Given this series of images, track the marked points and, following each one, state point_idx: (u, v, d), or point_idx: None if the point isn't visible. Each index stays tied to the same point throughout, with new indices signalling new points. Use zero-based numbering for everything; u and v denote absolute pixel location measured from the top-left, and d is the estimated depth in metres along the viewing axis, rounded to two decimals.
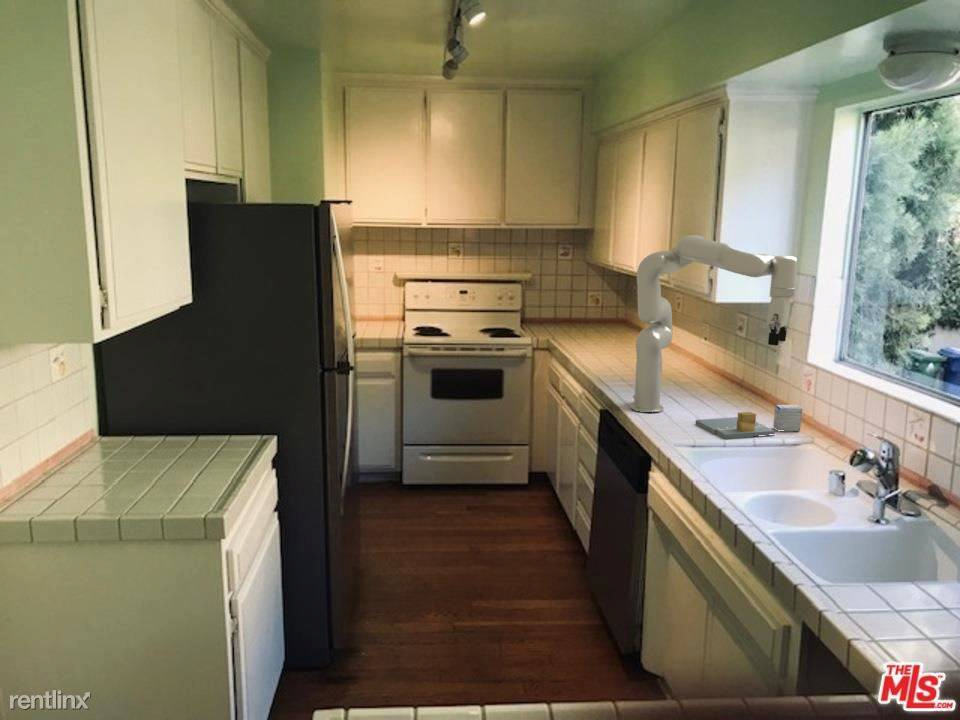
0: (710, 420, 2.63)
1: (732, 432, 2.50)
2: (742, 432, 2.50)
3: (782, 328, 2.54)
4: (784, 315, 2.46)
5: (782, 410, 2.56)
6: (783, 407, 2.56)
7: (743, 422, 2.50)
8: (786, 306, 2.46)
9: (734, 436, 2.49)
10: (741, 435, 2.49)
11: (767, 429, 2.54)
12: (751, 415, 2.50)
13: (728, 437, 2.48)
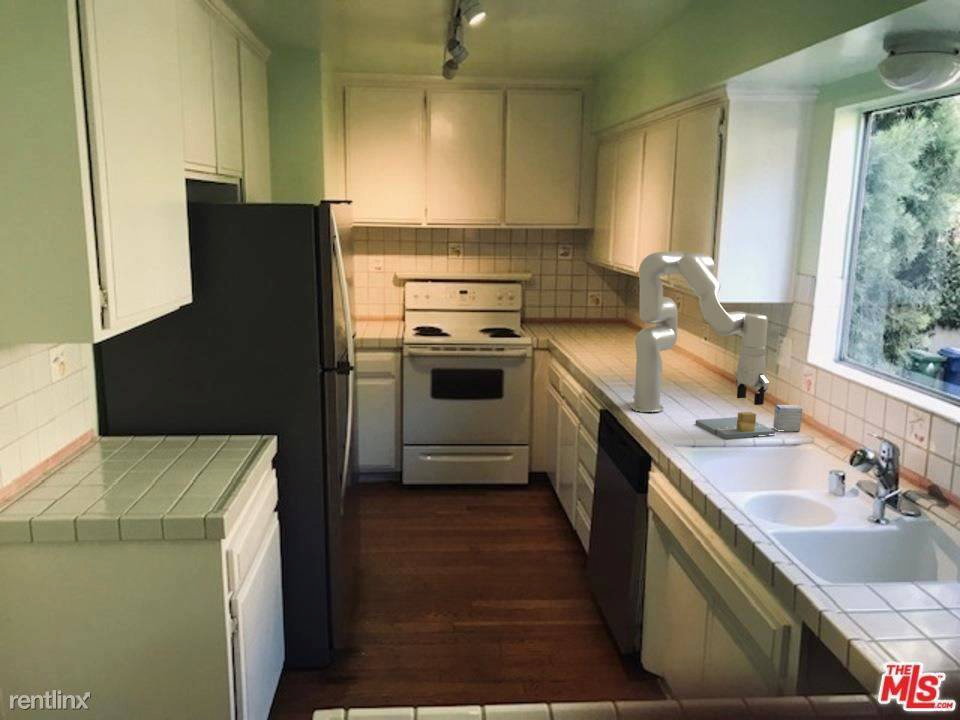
0: (710, 420, 2.63)
1: (732, 432, 2.50)
2: (742, 432, 2.50)
3: (743, 385, 2.54)
4: None
5: (782, 410, 2.56)
6: (783, 407, 2.56)
7: (743, 422, 2.50)
8: None
9: (734, 436, 2.49)
10: (741, 435, 2.49)
11: (767, 429, 2.54)
12: (751, 415, 2.50)
13: (728, 437, 2.48)
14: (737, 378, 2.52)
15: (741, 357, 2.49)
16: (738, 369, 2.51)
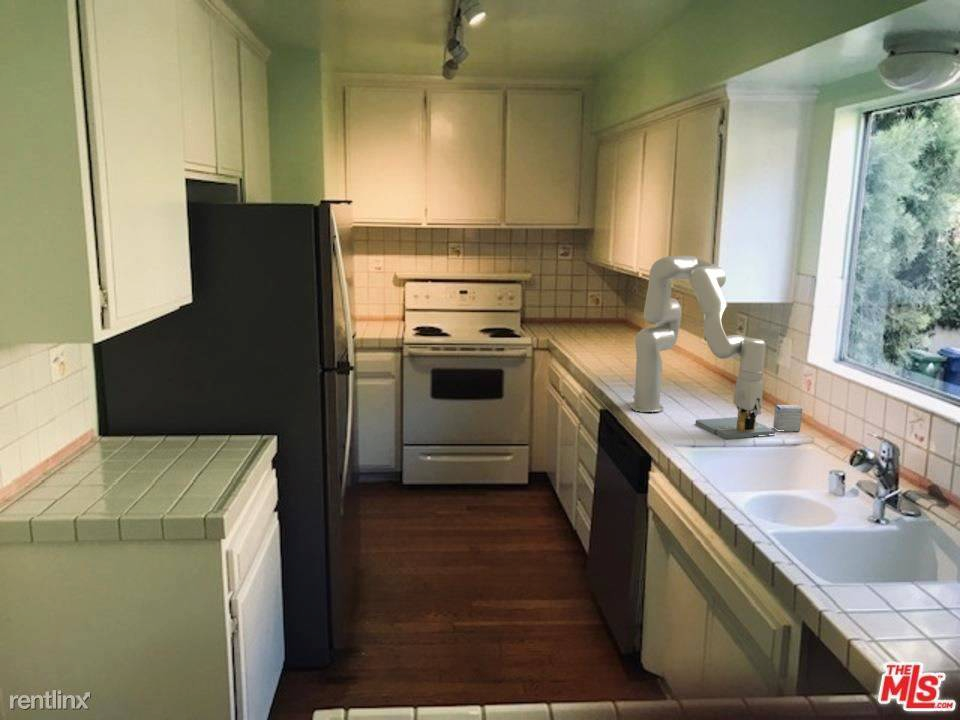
0: (710, 420, 2.63)
1: (732, 432, 2.50)
2: (742, 432, 2.50)
3: None
4: None
5: (782, 410, 2.56)
6: (783, 407, 2.56)
7: (743, 422, 2.50)
8: None
9: (734, 436, 2.49)
10: (741, 435, 2.49)
11: (767, 429, 2.54)
12: None
13: (728, 437, 2.48)
14: (734, 401, 2.54)
15: (738, 380, 2.51)
16: (735, 392, 2.52)
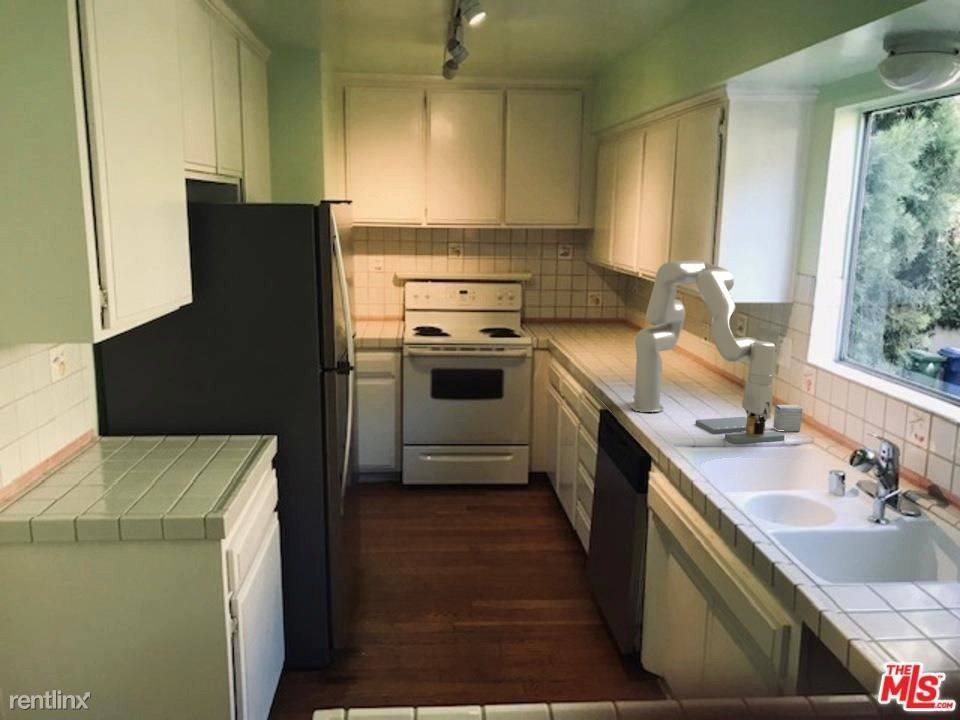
0: (710, 420, 2.63)
1: (741, 437, 2.45)
2: (751, 437, 2.45)
3: None
4: None
5: (782, 410, 2.56)
6: (783, 407, 2.56)
7: (753, 427, 2.45)
8: None
9: (743, 441, 2.44)
10: (750, 440, 2.44)
11: (777, 434, 2.49)
12: None
13: (737, 442, 2.43)
14: (743, 405, 2.49)
15: (747, 384, 2.46)
16: (744, 396, 2.48)
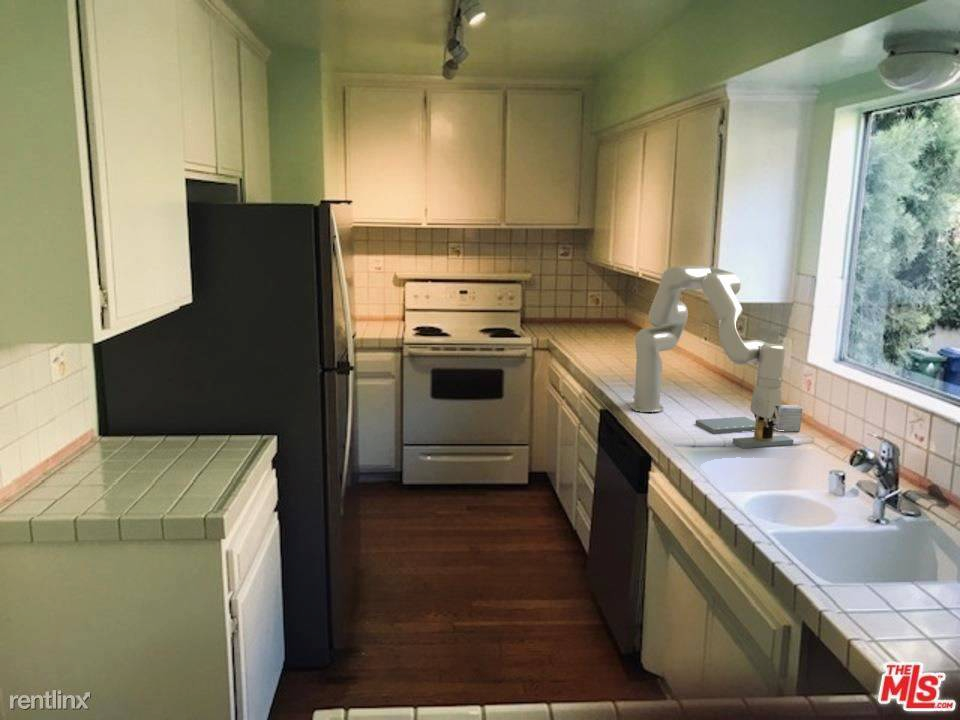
0: (710, 420, 2.63)
1: (750, 441, 2.40)
2: (760, 441, 2.41)
3: None
4: None
5: (782, 410, 2.56)
6: (783, 407, 2.56)
7: (761, 431, 2.41)
8: None
9: (752, 445, 2.39)
10: (759, 444, 2.40)
11: (786, 438, 2.45)
12: None
13: (745, 446, 2.39)
14: (751, 409, 2.44)
15: (756, 387, 2.42)
16: (753, 400, 2.43)
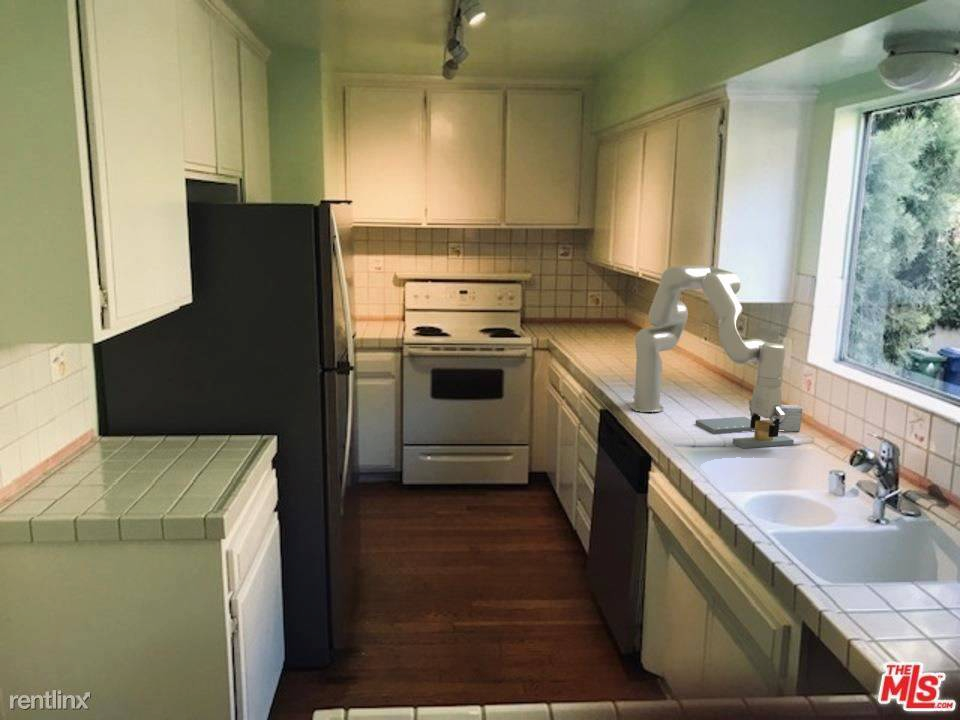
0: (710, 420, 2.63)
1: (750, 441, 2.40)
2: (760, 441, 2.40)
3: (757, 415, 2.46)
4: None
5: (782, 410, 2.56)
6: (783, 407, 2.56)
7: (762, 431, 2.41)
8: None
9: (752, 445, 2.39)
10: (759, 444, 2.40)
11: (786, 438, 2.44)
12: (769, 423, 2.41)
13: (746, 446, 2.39)
14: (751, 408, 2.44)
15: (756, 387, 2.41)
16: (753, 399, 2.43)
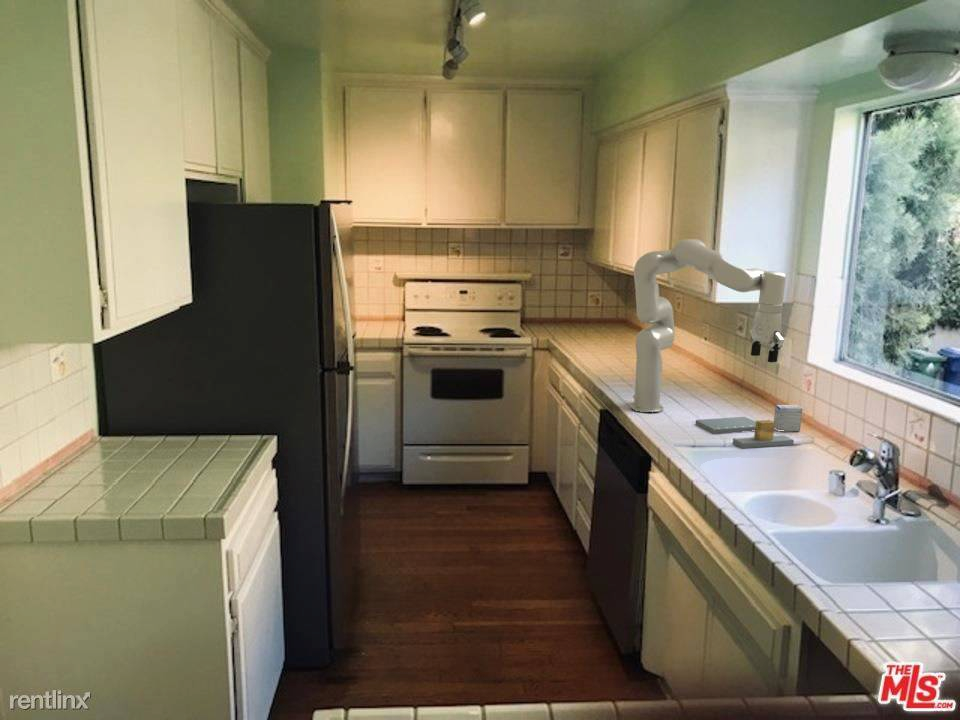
0: (710, 420, 2.63)
1: (750, 441, 2.40)
2: (760, 441, 2.40)
3: (757, 343, 2.54)
4: None
5: (782, 410, 2.56)
6: (783, 407, 2.56)
7: (762, 431, 2.41)
8: None
9: (752, 445, 2.39)
10: (759, 444, 2.40)
11: (786, 438, 2.44)
12: (769, 423, 2.41)
13: (746, 446, 2.39)
14: (752, 335, 2.52)
15: (757, 314, 2.49)
16: (754, 327, 2.51)
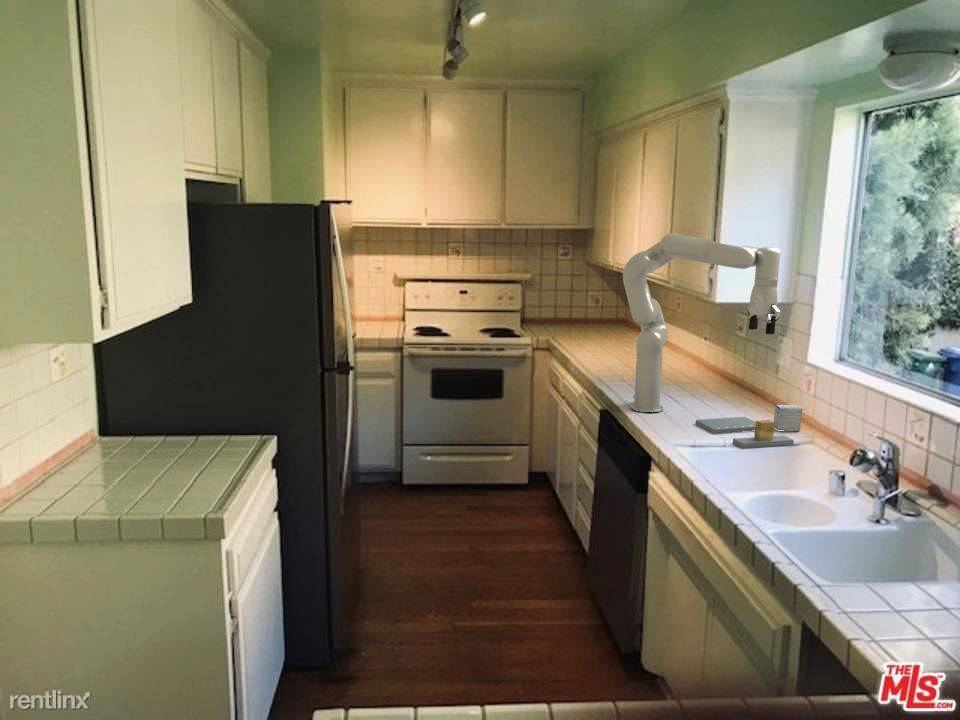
0: (710, 420, 2.63)
1: (750, 441, 2.40)
2: (760, 441, 2.40)
3: (755, 317, 2.65)
4: None
5: (782, 410, 2.56)
6: (783, 407, 2.56)
7: (762, 431, 2.41)
8: None
9: (752, 445, 2.39)
10: (759, 444, 2.40)
11: (786, 438, 2.44)
12: (769, 423, 2.41)
13: (746, 446, 2.39)
14: (749, 310, 2.63)
15: (754, 289, 2.60)
16: (751, 301, 2.62)
